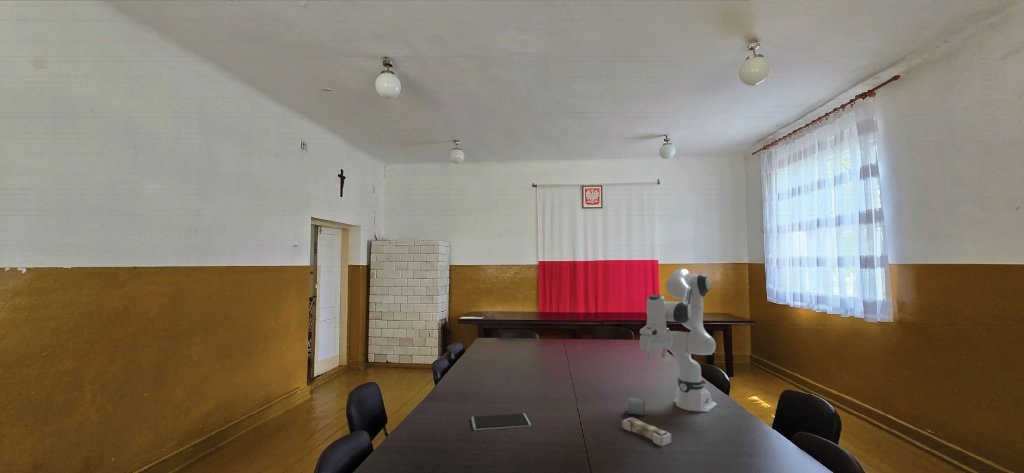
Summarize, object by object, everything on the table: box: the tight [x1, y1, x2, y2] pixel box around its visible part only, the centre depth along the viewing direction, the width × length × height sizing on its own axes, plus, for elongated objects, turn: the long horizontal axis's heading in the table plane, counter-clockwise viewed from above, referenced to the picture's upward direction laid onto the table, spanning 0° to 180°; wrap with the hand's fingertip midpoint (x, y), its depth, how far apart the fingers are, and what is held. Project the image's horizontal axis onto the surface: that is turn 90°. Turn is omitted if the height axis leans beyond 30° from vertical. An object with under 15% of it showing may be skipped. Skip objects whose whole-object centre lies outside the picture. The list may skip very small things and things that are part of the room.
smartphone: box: [471, 412, 532, 431], centre depth 183 cm, size 13×27×2 cm, turn 101°
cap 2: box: [652, 431, 672, 447], centre depth 164 cm, size 4×7×4 cm
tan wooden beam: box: [626, 417, 668, 441], centre depth 170 cm, size 18×4×4 cm, turn 37°
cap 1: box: [621, 416, 639, 432], centre depth 178 cm, size 4×7×4 cm
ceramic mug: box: [627, 397, 646, 416], centre depth 196 cm, size 11×8×8 cm
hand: (657, 358), depth 182 cm, fingers open, 8 cm apart
